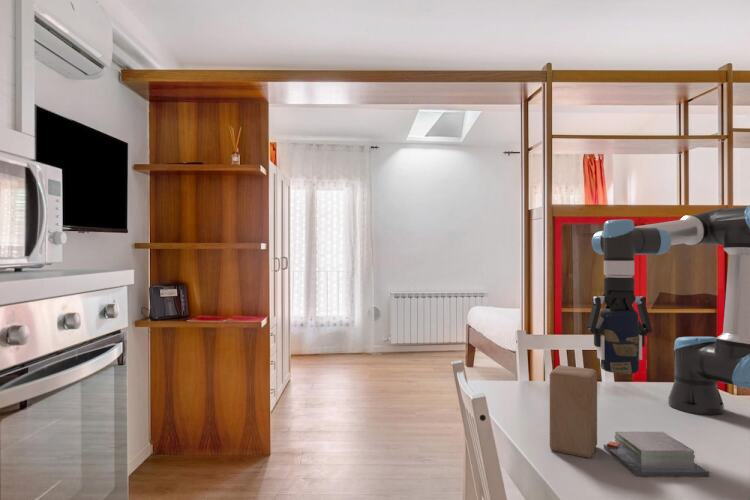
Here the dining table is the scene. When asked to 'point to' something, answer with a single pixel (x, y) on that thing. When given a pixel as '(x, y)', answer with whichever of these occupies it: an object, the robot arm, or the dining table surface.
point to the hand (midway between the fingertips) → (619, 358)
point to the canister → (620, 341)
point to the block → (573, 410)
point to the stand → (654, 455)
